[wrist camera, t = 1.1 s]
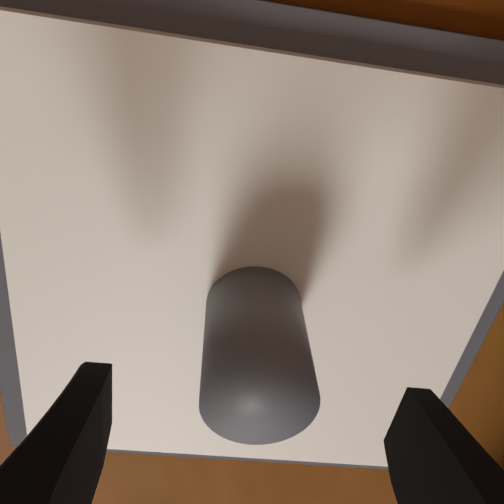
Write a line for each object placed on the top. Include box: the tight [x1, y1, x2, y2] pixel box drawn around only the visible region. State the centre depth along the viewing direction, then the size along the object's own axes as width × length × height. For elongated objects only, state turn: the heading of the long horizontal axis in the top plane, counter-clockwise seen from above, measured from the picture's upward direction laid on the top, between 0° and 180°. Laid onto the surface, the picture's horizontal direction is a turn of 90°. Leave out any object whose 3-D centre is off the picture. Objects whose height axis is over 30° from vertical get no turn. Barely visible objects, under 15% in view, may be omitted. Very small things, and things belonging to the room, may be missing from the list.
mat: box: [0, 0, 504, 470], centre depth 16 cm, size 17×17×1 cm
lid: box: [0, 6, 504, 467], centre depth 14 cm, size 15×15×5 cm
